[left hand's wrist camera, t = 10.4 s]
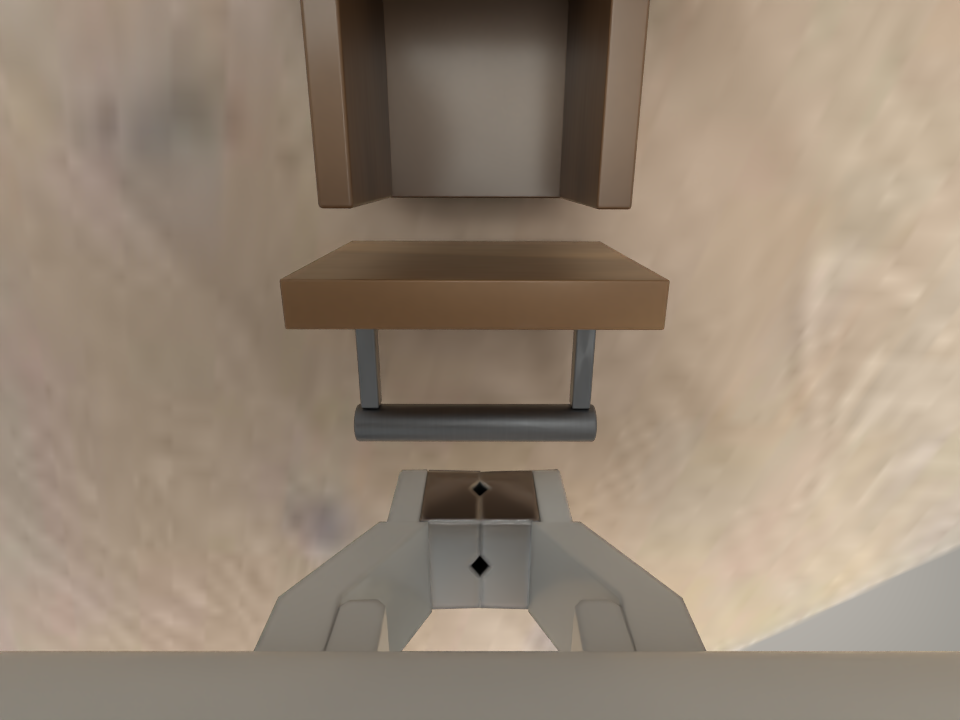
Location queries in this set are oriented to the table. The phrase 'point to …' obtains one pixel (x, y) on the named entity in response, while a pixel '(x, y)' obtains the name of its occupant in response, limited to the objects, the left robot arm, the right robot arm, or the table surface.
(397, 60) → the drawer
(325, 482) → the table surface
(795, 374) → the table surface
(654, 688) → the left robot arm
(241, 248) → the table surface
